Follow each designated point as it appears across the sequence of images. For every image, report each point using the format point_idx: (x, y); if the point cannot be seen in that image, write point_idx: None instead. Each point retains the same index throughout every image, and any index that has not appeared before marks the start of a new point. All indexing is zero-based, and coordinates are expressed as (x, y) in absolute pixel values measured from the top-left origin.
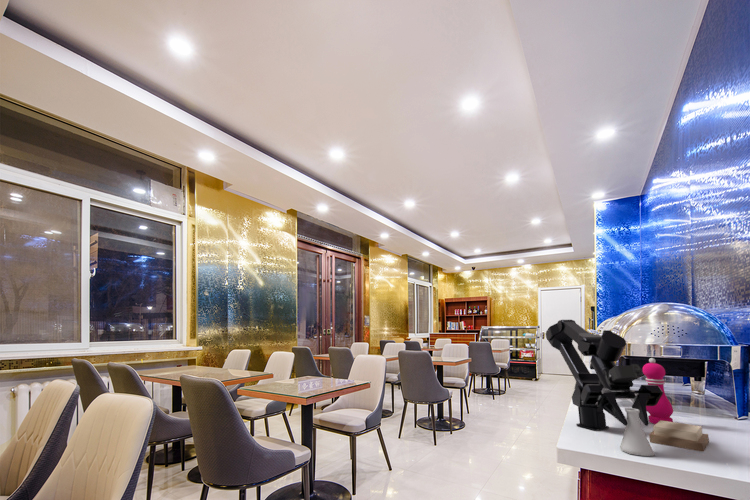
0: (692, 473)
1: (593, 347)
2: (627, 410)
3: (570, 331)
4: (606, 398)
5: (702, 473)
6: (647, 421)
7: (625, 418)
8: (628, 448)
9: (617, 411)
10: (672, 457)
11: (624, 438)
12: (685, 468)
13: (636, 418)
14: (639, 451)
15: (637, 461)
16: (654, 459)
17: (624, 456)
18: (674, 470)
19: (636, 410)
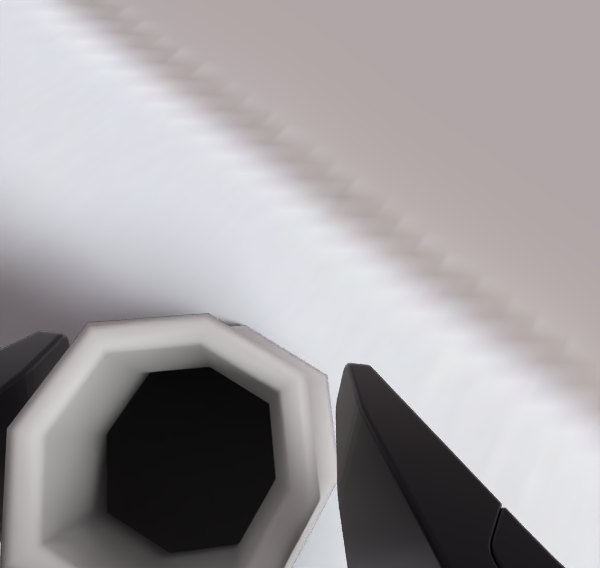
0: (167, 44)
1: None
2: (308, 420)
3: None
4: None
5: (107, 38)
6: (33, 341)
7: (363, 392)
8: (323, 394)
9: (481, 494)
10: (27, 306)
11: (318, 467)
12: (137, 110)
13: (188, 366)
14: (265, 341)
15: (358, 243)
16: (208, 273)
17: (386, 345)
18: (235, 90)
19: (53, 472)
